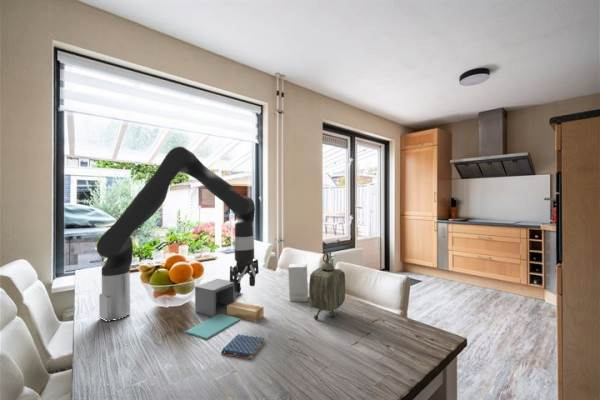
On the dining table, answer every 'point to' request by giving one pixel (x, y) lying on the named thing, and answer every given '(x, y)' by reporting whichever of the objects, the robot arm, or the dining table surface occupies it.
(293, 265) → the skincare box
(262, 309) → the oak plank
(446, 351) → the dining table surface
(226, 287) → the cubby shelf
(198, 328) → the teal mat
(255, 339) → the woven mat
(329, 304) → the tabletop clock
